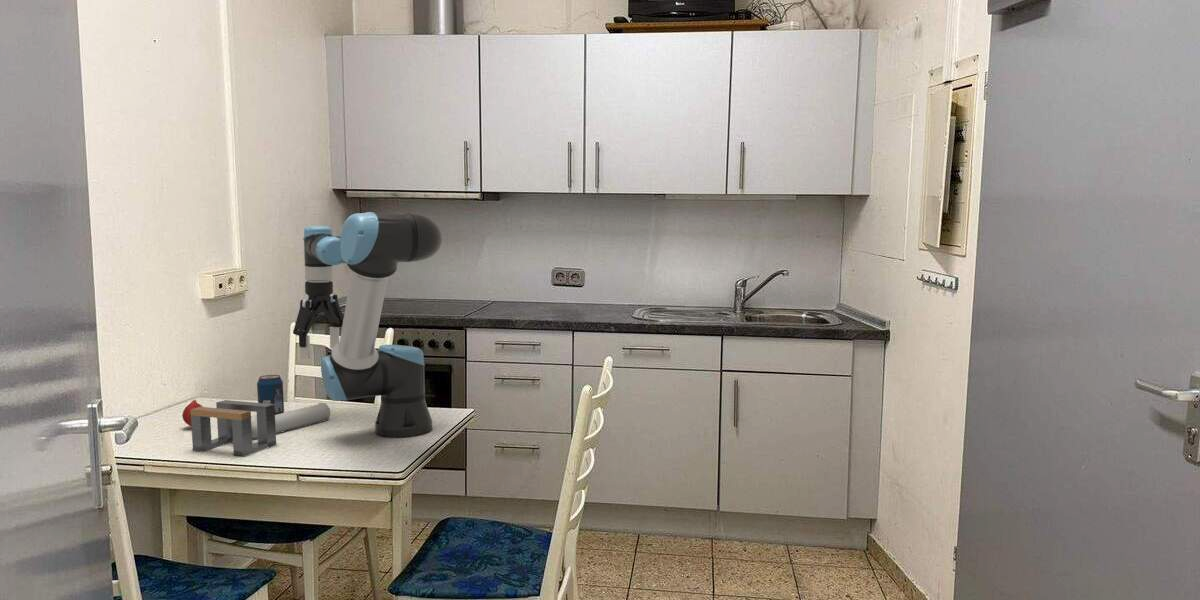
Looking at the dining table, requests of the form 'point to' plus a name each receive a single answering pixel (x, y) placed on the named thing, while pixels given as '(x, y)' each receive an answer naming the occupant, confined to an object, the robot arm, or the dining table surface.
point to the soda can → (271, 392)
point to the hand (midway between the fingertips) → (320, 353)
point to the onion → (189, 412)
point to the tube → (297, 418)
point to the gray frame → (234, 426)
